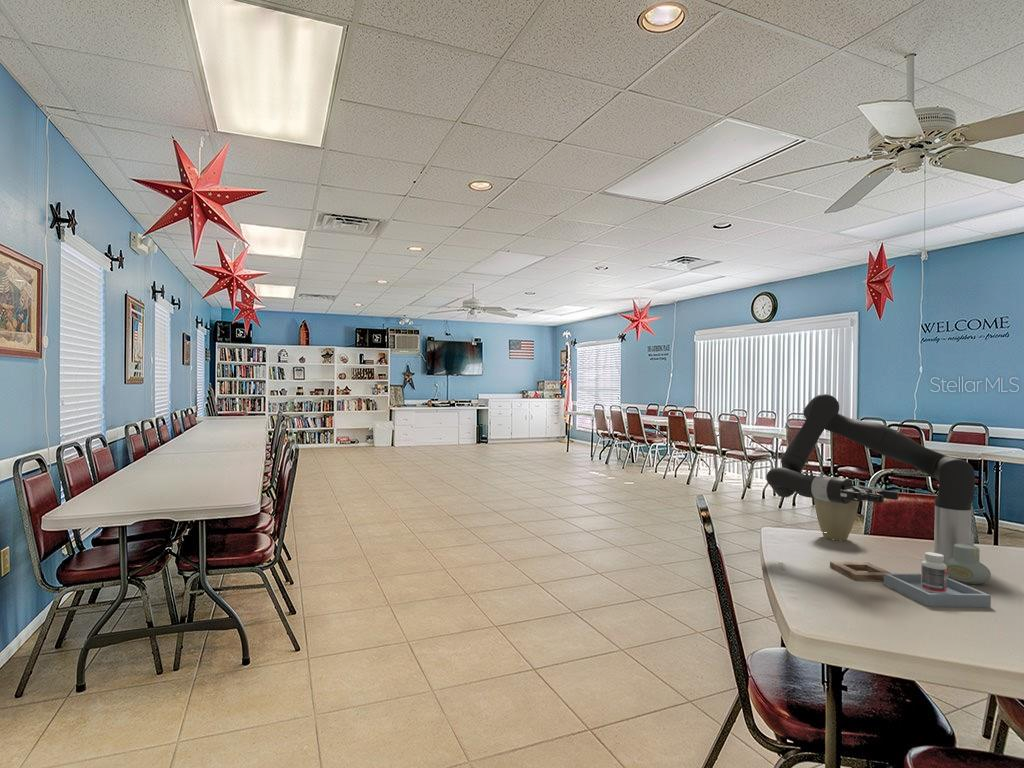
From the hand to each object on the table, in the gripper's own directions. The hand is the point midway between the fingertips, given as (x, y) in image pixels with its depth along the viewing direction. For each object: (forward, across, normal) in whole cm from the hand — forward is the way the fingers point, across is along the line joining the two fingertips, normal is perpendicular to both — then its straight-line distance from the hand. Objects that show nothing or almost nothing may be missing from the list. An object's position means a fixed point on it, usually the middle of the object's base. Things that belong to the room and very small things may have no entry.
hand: (890, 497), depth 156 cm
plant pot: (-34, +36, +24) cm, 55 cm away
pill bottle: (+10, -1, +23) cm, 25 cm away
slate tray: (+10, 0, +24) cm, 26 cm away
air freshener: (+10, +22, +25) cm, 34 cm away
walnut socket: (-8, +1, +24) cm, 25 cm away
